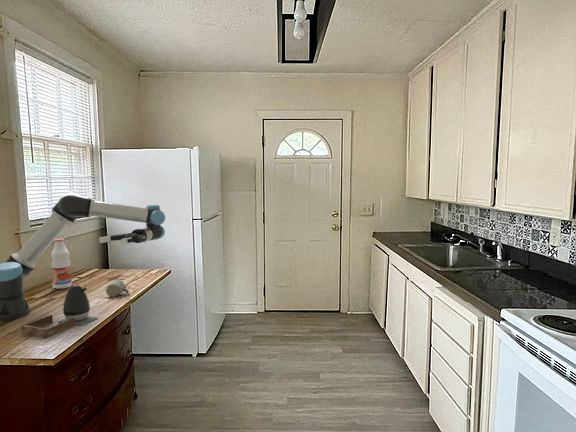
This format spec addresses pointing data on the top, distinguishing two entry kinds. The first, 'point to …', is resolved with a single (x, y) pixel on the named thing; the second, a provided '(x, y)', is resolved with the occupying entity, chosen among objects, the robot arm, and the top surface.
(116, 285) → the ceramic mug
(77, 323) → the grey mat
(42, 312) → the top surface
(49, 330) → the walnut caddy
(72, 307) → the pump dispenser
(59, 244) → the fruit juice
